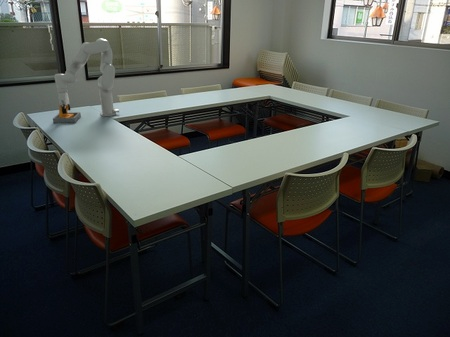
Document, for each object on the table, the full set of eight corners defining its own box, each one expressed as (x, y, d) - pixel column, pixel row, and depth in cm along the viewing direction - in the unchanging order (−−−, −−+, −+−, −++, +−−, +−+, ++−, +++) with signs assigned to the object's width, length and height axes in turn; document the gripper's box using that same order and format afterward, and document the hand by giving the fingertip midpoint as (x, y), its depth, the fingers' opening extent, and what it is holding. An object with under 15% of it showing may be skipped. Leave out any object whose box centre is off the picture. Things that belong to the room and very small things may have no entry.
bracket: (68, 121, 282) (66, 105, 277) (59, 120, 282) (56, 105, 277) (74, 117, 291) (72, 102, 287) (66, 117, 292) (63, 102, 287)
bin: (81, 117, 295) (80, 112, 294) (75, 122, 280) (74, 117, 279) (60, 117, 294) (59, 112, 292) (53, 123, 279) (52, 118, 277)
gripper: (60, 88, 285) (65, 109, 292) (53, 92, 269) (58, 115, 276) (70, 87, 286) (74, 108, 293) (64, 92, 270) (68, 114, 277)
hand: (66, 111), depth 285 cm, fingers open, 9 cm apart
